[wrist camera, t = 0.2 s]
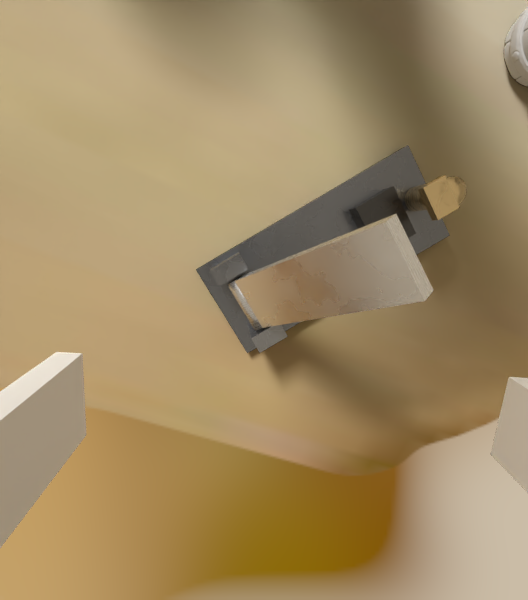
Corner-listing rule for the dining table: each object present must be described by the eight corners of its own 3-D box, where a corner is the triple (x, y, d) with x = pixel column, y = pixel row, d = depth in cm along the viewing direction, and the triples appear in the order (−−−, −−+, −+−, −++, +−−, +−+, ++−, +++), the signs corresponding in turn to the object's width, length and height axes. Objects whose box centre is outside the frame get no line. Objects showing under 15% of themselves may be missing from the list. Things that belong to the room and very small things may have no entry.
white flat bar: (263, 320, 36) (251, 331, 35) (237, 276, 35) (223, 286, 34) (435, 287, 22) (422, 303, 21) (398, 211, 21) (383, 224, 20)
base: (247, 350, 40) (250, 375, 32) (196, 268, 38) (188, 276, 30) (444, 235, 39) (491, 234, 32) (403, 147, 37) (443, 126, 30)
